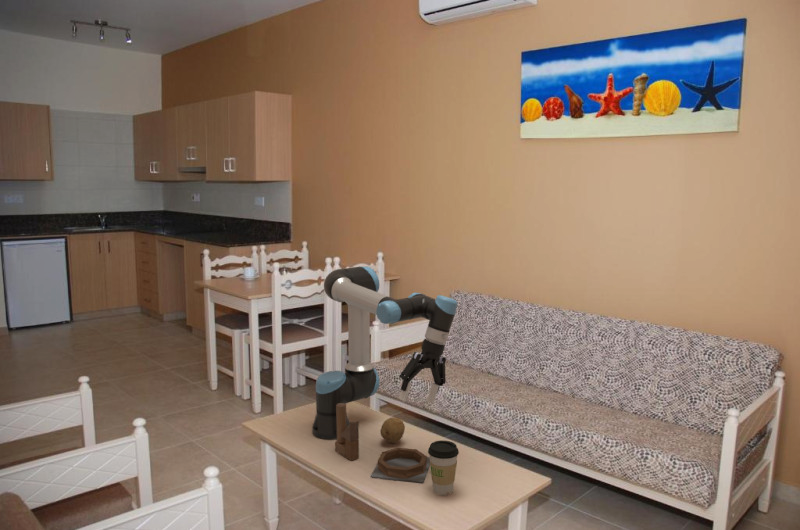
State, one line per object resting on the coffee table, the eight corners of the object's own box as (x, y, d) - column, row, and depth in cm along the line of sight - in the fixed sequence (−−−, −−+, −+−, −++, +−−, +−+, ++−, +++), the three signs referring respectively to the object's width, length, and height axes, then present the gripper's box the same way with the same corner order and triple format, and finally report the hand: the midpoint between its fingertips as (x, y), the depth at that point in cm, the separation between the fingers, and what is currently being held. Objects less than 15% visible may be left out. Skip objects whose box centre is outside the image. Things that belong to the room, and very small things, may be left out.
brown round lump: (384, 449, 225) (384, 424, 223) (377, 440, 233) (377, 415, 232) (407, 446, 228) (407, 420, 226) (399, 436, 236) (399, 412, 235)
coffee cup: (427, 482, 200) (427, 439, 198) (457, 483, 200) (457, 439, 198) (427, 498, 190) (428, 452, 188) (459, 498, 190) (459, 453, 188)
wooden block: (350, 461, 216) (350, 412, 213) (334, 450, 224) (333, 404, 221) (359, 458, 218) (358, 410, 215) (343, 448, 226) (342, 401, 224)
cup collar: (383, 454, 221) (383, 444, 220) (432, 459, 217) (432, 449, 217) (370, 477, 204) (370, 467, 203) (423, 483, 200) (423, 473, 199)
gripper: (416, 340, 193) (396, 403, 194) (466, 348, 210) (448, 406, 211) (401, 333, 199) (382, 395, 200) (451, 342, 216) (433, 398, 216)
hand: (416, 401), depth 205 cm, fingers open, 13 cm apart
